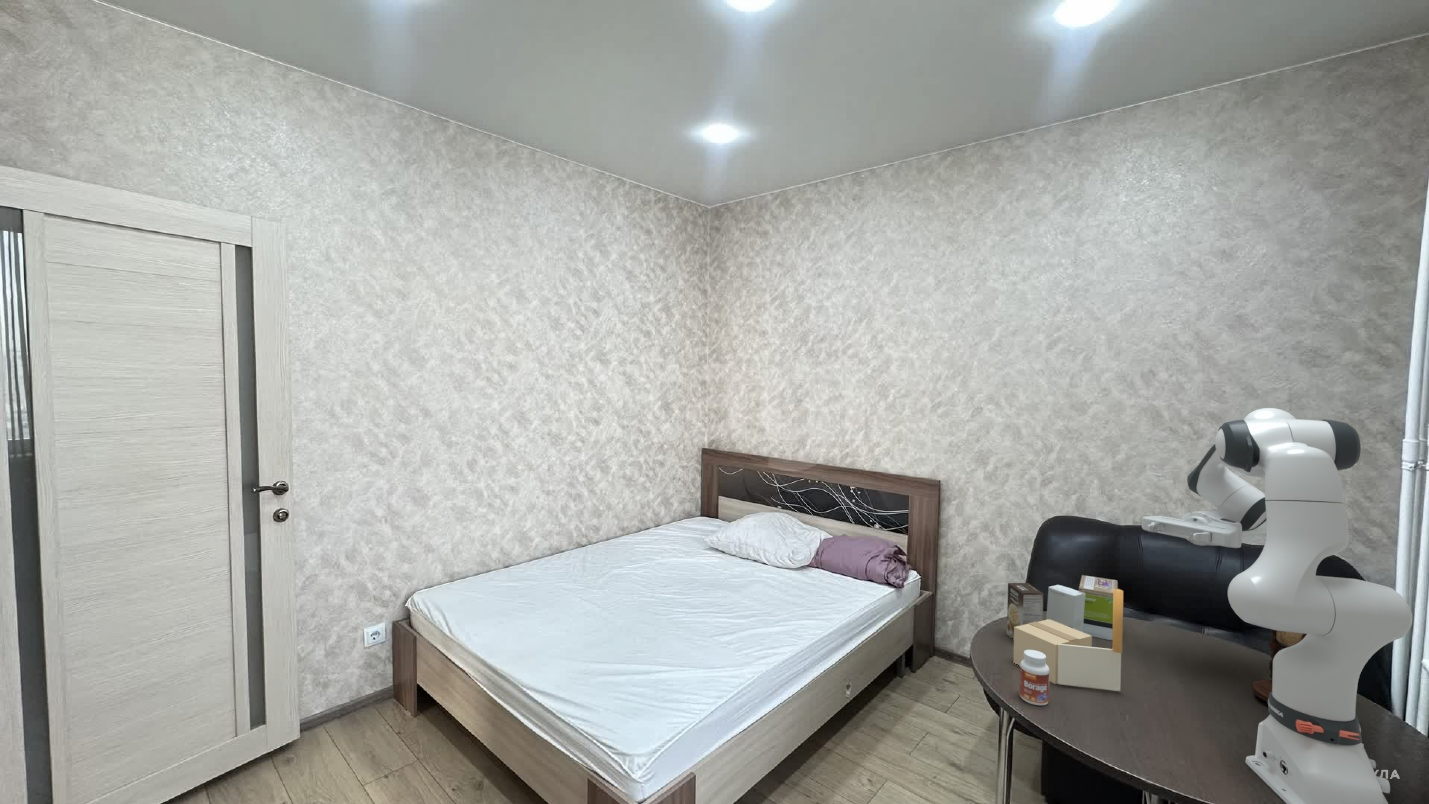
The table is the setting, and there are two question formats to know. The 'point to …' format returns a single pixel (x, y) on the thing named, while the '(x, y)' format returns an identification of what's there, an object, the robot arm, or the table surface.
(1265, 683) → the scroll
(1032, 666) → the pill bottle
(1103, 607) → the tea box
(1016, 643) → the carton
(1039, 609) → the coffee box
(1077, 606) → the skincare box
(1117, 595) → the cleaver with orange handle
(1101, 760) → the table surface
